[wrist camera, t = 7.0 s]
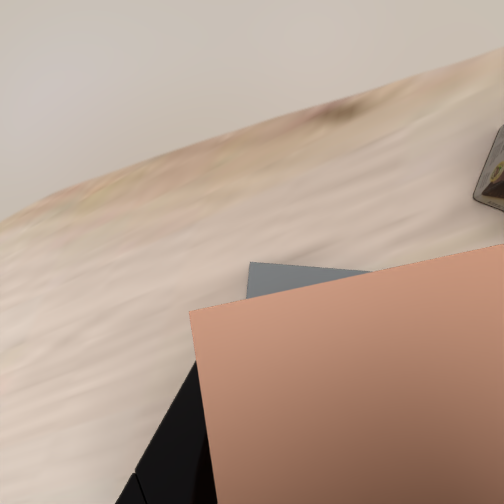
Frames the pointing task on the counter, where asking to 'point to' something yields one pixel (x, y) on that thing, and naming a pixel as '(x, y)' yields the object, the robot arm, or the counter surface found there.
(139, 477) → the robot arm
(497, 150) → the coffee box
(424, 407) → the terracotta block
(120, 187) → the counter surface
